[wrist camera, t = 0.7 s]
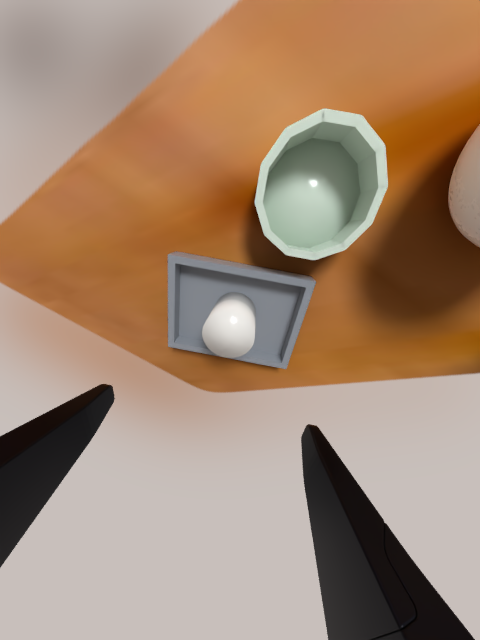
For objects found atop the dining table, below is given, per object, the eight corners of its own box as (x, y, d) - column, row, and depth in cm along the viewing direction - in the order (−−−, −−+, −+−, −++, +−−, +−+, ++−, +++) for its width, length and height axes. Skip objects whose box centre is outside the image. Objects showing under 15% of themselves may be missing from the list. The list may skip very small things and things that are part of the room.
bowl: (382, 143, 13) (414, 123, 11) (338, 260, 17) (353, 267, 14) (269, 123, 13) (271, 99, 11) (249, 243, 17) (246, 248, 14)
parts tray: (310, 276, 17) (316, 281, 16) (284, 358, 21) (286, 369, 20) (176, 251, 18) (167, 254, 16) (175, 337, 22) (168, 346, 20)
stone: (260, 296, 18) (259, 317, 14) (251, 333, 20) (249, 362, 16) (216, 288, 18) (204, 307, 14) (212, 326, 20) (200, 352, 16)
